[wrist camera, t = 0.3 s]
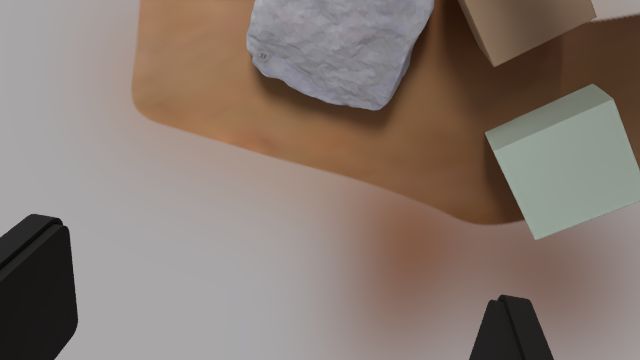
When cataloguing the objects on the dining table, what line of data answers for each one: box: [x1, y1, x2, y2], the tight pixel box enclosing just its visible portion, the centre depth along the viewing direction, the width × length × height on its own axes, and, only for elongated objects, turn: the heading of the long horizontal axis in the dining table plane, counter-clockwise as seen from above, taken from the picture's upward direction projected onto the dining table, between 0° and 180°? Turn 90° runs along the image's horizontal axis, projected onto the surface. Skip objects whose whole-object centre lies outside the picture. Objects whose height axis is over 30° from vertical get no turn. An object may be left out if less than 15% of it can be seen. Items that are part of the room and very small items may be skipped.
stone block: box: [246, 0, 434, 111], centre depth 36 cm, size 12×5×10 cm
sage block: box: [485, 84, 640, 240], centre depth 38 cm, size 8×8×4 cm
